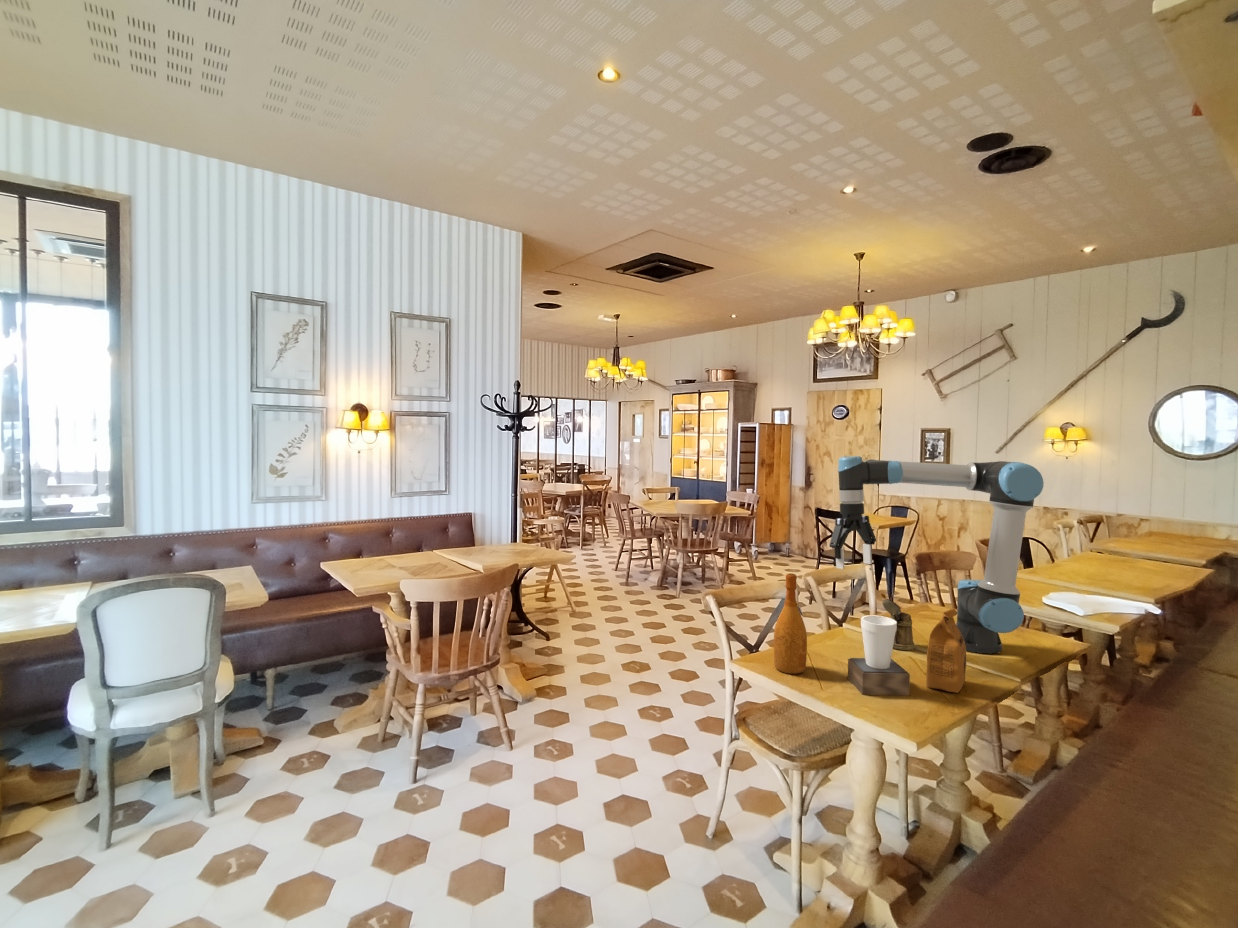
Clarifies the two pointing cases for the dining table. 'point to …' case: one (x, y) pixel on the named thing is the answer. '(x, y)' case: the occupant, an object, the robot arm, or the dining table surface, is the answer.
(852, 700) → the dining table surface
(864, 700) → the dining table surface
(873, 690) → the walnut stand
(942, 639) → the coffee package
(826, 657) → the dining table surface
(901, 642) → the wooden mug
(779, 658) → the wine bottle
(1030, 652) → the dining table surface
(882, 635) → the foam cup
